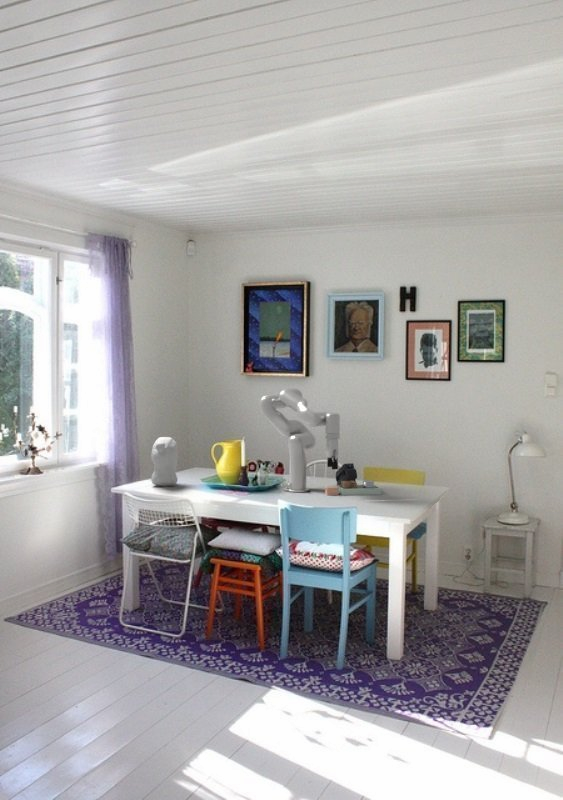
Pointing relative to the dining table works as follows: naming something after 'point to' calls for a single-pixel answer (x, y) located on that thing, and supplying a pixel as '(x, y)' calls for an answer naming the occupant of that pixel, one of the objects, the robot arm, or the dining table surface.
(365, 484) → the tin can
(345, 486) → the walnut block
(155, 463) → the bust
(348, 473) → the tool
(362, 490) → the pale green flat tray
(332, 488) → the terracotta box
